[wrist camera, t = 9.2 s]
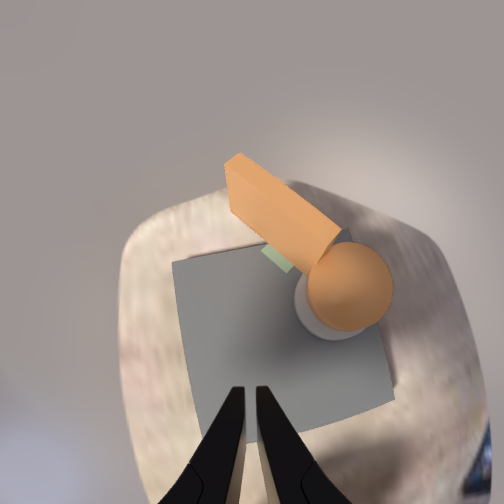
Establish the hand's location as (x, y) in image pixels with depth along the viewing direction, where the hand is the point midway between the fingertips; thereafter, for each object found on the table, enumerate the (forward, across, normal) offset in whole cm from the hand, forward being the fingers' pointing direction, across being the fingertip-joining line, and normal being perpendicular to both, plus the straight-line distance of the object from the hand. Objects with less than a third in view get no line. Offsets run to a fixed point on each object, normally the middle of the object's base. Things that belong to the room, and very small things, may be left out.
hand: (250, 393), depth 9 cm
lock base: (+10, -2, +6) cm, 11 cm away
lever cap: (+11, -4, 0) cm, 11 cm away
